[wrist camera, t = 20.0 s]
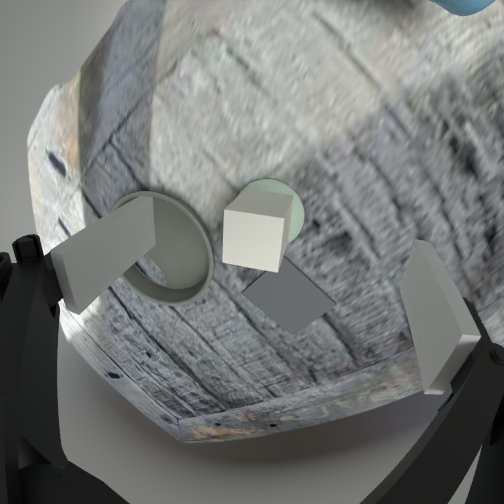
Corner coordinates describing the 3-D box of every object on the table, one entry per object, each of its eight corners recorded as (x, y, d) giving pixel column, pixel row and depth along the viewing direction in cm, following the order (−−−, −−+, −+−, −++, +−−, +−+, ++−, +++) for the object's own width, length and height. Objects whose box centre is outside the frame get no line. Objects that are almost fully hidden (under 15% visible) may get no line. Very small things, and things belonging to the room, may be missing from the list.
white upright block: (243, 232, 52) (222, 262, 43) (245, 188, 49) (224, 209, 39) (288, 240, 51) (277, 272, 41) (294, 195, 47) (284, 218, 38)
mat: (242, 291, 59) (241, 293, 59) (283, 254, 53) (282, 256, 53) (292, 333, 61) (292, 335, 60) (336, 302, 55) (336, 304, 55)
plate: (221, 213, 53) (220, 214, 52) (265, 163, 47) (264, 164, 46) (271, 258, 54) (271, 260, 54) (319, 213, 48) (319, 215, 48)
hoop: (118, 173, 54) (104, 179, 50) (232, 203, 52) (223, 212, 48) (117, 273, 66) (106, 282, 63) (211, 309, 64) (204, 322, 60)
